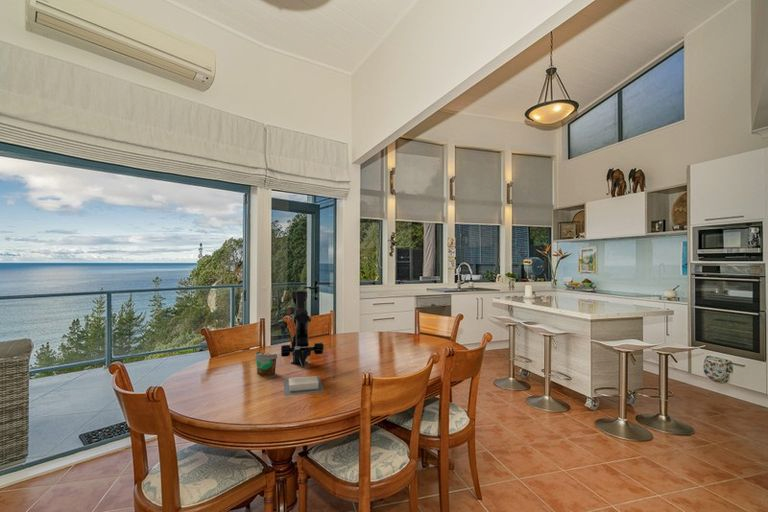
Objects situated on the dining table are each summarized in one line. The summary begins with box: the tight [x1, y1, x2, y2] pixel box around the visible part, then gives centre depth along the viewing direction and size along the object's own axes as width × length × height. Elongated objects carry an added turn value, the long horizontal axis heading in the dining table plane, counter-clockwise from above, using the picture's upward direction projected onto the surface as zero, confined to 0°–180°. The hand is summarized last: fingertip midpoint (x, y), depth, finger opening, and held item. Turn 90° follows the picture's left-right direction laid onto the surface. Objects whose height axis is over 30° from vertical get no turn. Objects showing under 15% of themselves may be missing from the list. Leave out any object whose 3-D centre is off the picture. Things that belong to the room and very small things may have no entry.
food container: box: [254, 350, 278, 376], centre depth 167 cm, size 12×6×10 cm, turn 62°
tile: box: [288, 375, 319, 392], centre depth 150 cm, size 3×12×9 cm
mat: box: [283, 375, 325, 397], centre depth 152 cm, size 20×16×1 cm
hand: (303, 366), depth 153 cm, fingers closed
